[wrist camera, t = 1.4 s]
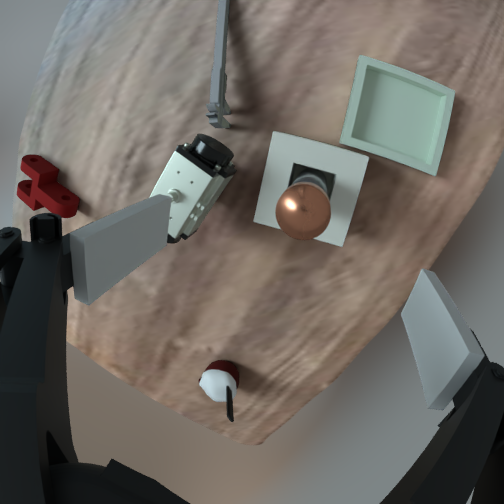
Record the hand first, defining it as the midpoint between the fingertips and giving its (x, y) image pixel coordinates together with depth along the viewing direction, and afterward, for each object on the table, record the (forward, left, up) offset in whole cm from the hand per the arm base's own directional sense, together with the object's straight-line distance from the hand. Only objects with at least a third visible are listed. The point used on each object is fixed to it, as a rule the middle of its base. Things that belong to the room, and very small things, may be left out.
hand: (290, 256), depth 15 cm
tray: (-11, +8, -24) cm, 27 cm away
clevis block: (0, 0, -24) cm, 24 cm away
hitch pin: (0, 0, -23) cm, 23 cm away
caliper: (-14, -14, -24) cm, 31 cm away
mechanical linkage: (+9, -43, -24) cm, 50 cm away
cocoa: (+34, -5, -24) cm, 42 cm away
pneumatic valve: (+3, -12, -24) cm, 27 cm away
